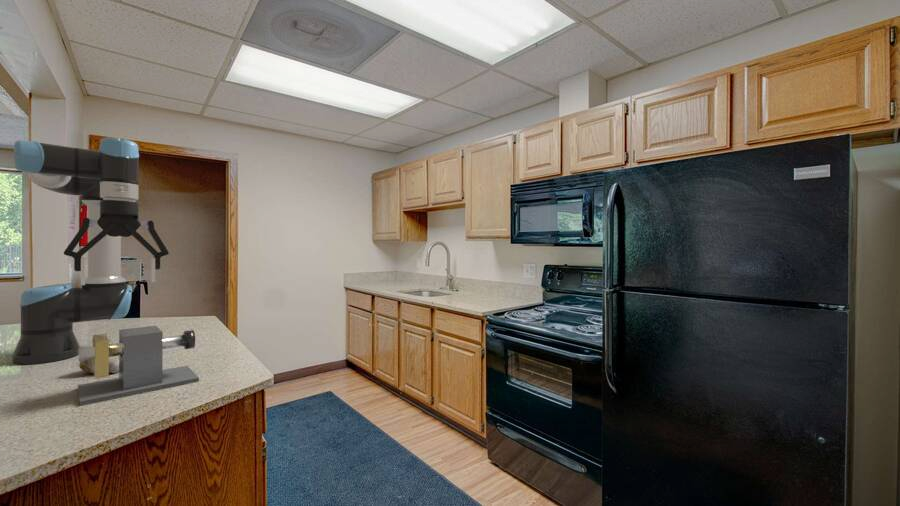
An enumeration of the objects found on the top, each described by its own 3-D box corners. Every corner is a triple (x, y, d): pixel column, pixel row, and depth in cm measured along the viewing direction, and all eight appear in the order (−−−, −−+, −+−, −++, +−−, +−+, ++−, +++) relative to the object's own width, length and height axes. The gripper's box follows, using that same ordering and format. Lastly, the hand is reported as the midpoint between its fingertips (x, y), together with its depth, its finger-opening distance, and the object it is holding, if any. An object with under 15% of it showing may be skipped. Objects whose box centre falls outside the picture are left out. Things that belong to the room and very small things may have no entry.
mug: (114, 377, 109) (91, 349, 107) (90, 389, 111) (67, 361, 109) (136, 363, 117) (116, 336, 114) (114, 374, 118) (93, 348, 116)
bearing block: (119, 383, 105) (119, 329, 104) (155, 376, 110) (155, 325, 110) (123, 394, 98) (123, 336, 97) (162, 386, 103) (162, 332, 103)
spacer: (92, 369, 100) (92, 335, 100) (105, 367, 102) (105, 333, 102) (95, 378, 94) (95, 342, 94) (108, 376, 96) (108, 340, 96)
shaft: (78, 362, 97) (78, 342, 97) (190, 346, 114) (191, 328, 114) (79, 367, 93) (79, 346, 93) (195, 349, 110) (195, 331, 110)
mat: (77, 388, 100) (77, 384, 100) (187, 368, 117) (187, 365, 117) (80, 405, 90) (80, 401, 90) (198, 381, 108) (199, 377, 108)
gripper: (48, 194, 87) (48, 287, 88) (181, 203, 104) (180, 281, 105) (50, 196, 93) (51, 284, 93) (176, 205, 110) (176, 279, 110)
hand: (119, 283), depth 99 cm, fingers open, 13 cm apart
